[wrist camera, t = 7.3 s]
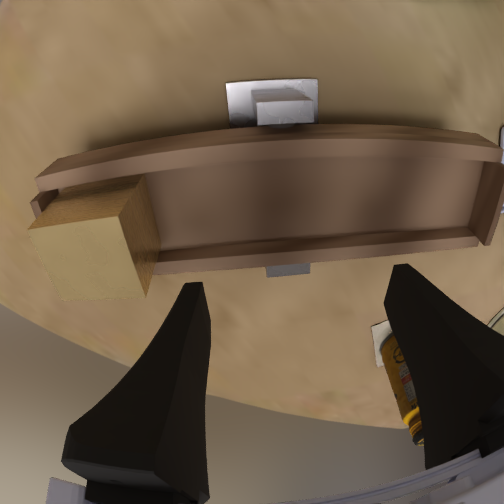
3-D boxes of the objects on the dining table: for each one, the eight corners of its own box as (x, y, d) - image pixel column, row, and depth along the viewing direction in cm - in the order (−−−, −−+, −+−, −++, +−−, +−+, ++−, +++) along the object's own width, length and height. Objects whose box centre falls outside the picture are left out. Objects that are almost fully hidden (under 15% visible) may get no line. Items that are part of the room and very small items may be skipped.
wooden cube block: (144, 173, 14) (117, 216, 11) (161, 244, 16) (145, 297, 13) (65, 187, 14) (26, 230, 11) (88, 251, 16) (61, 300, 13)
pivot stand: (313, 78, 16) (342, 89, 12) (312, 229, 22) (331, 277, 18) (226, 82, 16) (223, 94, 12) (241, 235, 22) (244, 286, 18)
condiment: (376, 366, 34) (404, 456, 24) (370, 325, 29) (409, 434, 20) (431, 344, 33) (467, 428, 23) (435, 299, 28) (487, 398, 18)
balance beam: (471, 127, 15) (515, 152, 11) (452, 222, 19) (484, 258, 15) (61, 151, 15) (23, 183, 12) (94, 249, 19) (71, 294, 16)
